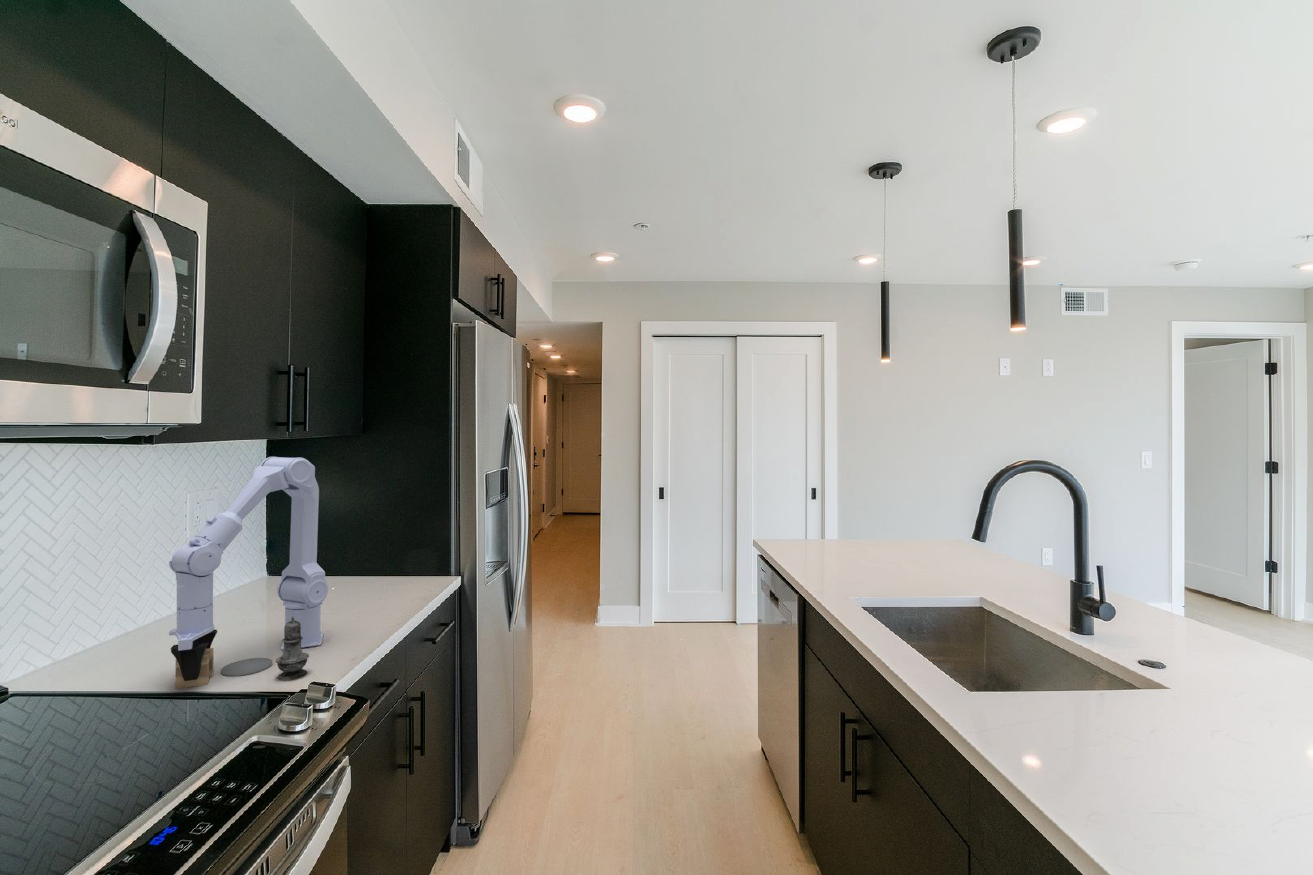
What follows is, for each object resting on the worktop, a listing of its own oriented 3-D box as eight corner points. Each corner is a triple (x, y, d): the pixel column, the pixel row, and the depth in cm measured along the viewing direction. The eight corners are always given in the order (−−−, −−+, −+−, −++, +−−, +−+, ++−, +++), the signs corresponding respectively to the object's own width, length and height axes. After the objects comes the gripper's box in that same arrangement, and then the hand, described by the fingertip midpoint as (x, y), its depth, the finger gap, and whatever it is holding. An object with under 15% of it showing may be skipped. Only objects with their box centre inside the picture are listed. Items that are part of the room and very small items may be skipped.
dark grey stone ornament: (293, 682, 118) (293, 622, 118) (268, 679, 119) (268, 619, 119) (315, 670, 124) (316, 613, 124) (291, 668, 125) (291, 611, 125)
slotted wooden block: (182, 678, 119) (183, 651, 119) (213, 674, 122) (213, 647, 121) (175, 688, 115) (175, 660, 115) (207, 684, 117) (207, 656, 117)
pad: (225, 663, 127) (225, 661, 127) (275, 656, 131) (275, 655, 131) (215, 679, 119) (216, 677, 119) (269, 671, 123) (269, 669, 123)
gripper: (180, 598, 123) (180, 664, 123) (157, 618, 110) (157, 692, 110) (222, 594, 126) (222, 659, 126) (204, 614, 113) (204, 685, 113)
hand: (195, 674), depth 118 cm, fingers closed on slotted wooden block, 5 cm apart
